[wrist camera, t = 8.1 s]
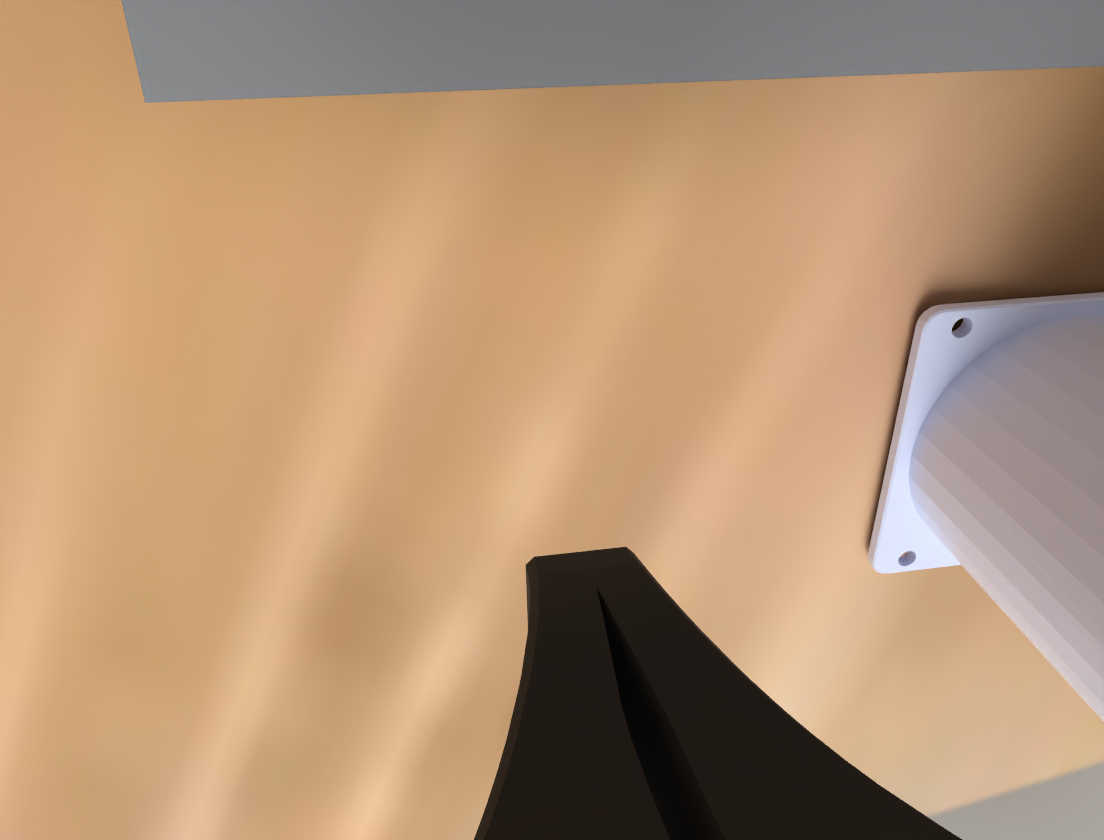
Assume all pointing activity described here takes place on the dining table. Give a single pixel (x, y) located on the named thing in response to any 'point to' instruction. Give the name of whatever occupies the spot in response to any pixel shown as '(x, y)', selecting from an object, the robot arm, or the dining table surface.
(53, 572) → the dining table surface
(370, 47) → the console
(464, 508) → the dining table surface
